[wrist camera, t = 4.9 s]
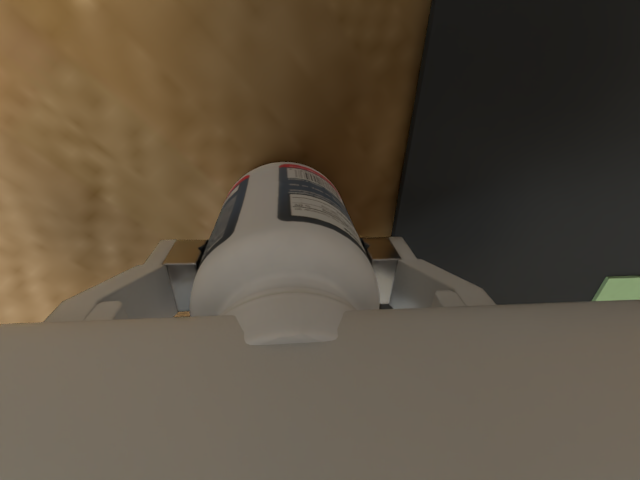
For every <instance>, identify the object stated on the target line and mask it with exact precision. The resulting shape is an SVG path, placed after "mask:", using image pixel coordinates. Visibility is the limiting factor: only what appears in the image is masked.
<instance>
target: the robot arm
mask: <svg viewBox="0 0 640 480" xmlns="http://www.w3.org/2000/svg"><path fill="white" fill-rule="evenodd" d="M360 241H361V243H362V245H363V248H364V250H365V252H366V254H367V256H368V258H369V260H370V263H371V265H372V267H373V270H374V273H375V276H376V279H377V283H378V287H379V293H380V304H389V305H390V306H391V307H392V308H393V309H377V310H351V311H345V312H344V313H343V316H342V319H341V321H340V324H339V326H338V328H337V332H338V337H337V338H336V339H335V340H332V341H326V342H310V343H291V344H274V345H249V344H247V343H246V342H245V340H244V331H243V330H242V328H241V326H240V324H239V322H238V320H237V318H236V317H235V316H234V315H222V316H196V317H174V316H175V315H176V314H177V312H181V311H190V296H191V291H192V286H193V283H194V279H195V276H196V273H197V270H198V267H199V265H200V262H201V259H202V257H203V254H204V251H205V249H206V247H207V244H208V242H209V240H177V239H173V240H161V241H160V242H159V243H158V245H157V246H156V247H155V249H154V250H153V252H152V253H151V254H150V256H149V257H148V259H147V260H146V261H145V263H144V264H143V265H137V266H135V267H133V268H131V269H129V270H127V271H125V272H123V273H121V274H119V275H117V276H114V277H112V278H110V279H108V280H106V281H104V282H102V283H100V284H98V285H96V286H94V287H92V288H90V289H88V290H85V291H83V292H81V293H79V294H77V295H75V296H73V297H71V298H69V299H67V300H65V301H63V302H61V304H60V305H59V306H58V307H57V308H56V309H55V310H54V311H53V312H52V313H51V314H50V315H49V316H48V317H47V318H46V320H45V321H44V322H39V323H13V324H0V480H640V299H639V300H613V301H586V302H560V303H534V304H508V305H496V304H495V302H494V301H493V300H492V299H491V298H490V297H489V296H488V294H487V293H486V292H485V291H484V290H483V289H482V288H480V287H478V286H476V285H474V284H472V283H470V282H468V281H466V280H464V279H461V278H459V277H457V276H455V275H453V274H451V273H449V272H447V271H445V270H443V269H441V268H439V267H437V266H435V265H432V264H430V263H428V262H426V261H424V260H422V259H417V258H416V256H415V255H414V254H413V252H412V251H411V249H410V248H409V246H408V245H407V244H406V242H405V241H404V239H403V238H402V237H374V238H360Z"/></svg>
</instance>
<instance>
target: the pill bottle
mask: <svg viewBox="0 0 640 480" xmlns="http://www.w3.org/2000/svg"><path fill="white" fill-rule="evenodd" d="M379 304H380V293H379V287H378V283H377V279H376V276H375V273H374V270H373V267H372V265H371V263H370V260H369V258H368V256H367V254H366V252H365V250H364V248H363V245H362V243H361V241H360V239H359V236H358V234H357V232H356V230H355V228H354V226H353V223H352V221H351V219H350V217H349V214H348V212H347V210H346V208H345V205H344V203H343V201H342V198H341V196H340V195H339V193H338V191H337V189H336V188H335V186H334V185H333V184H332V183H331V182H330V181H329V180H328V179H327V178H326V177H325V176H324V175H323V174H321V173H320V172H318V171H317V170H315V169H313V168H311V167H308V166H306V165H303V164H299V163H293V162H276V163H270V164H266V165H263V166H260V167H258V168H256V169H254V170H252V171H250V172H248V173H247V174H245V175H244V176H243V177H241V178H240V179H239V180H238V181H237V182H236V183H235V185H234V186H233V187H232V189H231V190H230V192H229V194H228V196H227V198H226V200H225V202H224V205H223V207H222V209H221V212H220V214H219V217H218V219H217V222H216V224H215V227H214V229H213V231H212V234H211V236H210V239H209V242H208V244H207V247H206V249H205V251H204V254H203V257H202V259H201V262H200V265H199V267H198V270H197V273H196V276H195V279H194V283H193V286H192V291H191V296H190V316H191V317H196V316H222V315H234V316H235V317H236V318H237V320H238V322H239V324H240V326H241V328H242V330H243V331H244V340H245V342H246V343H247V344H249V345H274V344H291V343H310V342H326V341H332V340H335V339H336V338H337V337H338V332H337V328H338V326H339V324H340V321H341V319H342V316H343V313H344V312H345V311H351V310H377V309H379Z"/></svg>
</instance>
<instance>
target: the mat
mask: <svg viewBox="0 0 640 480" xmlns="http://www.w3.org/2000/svg"><path fill="white" fill-rule="evenodd" d="M391 237H402V238H403V239H404V241H405V242H406V244H407V245H408V246H409V248H410V249H411V251H412V252H413V254H414V255H415V256H416V258H417V259H422V260H424V261H426V262H428V263H430V264H432V265H435V266H437V267H439V268H441V269H443V270H445V271H447V272H449V273H451V274H453V275H455V276H457V277H459V278H461V279H464V280H466V281H468V282H470V283H472V284H474V285H476V286H478V287H480V288H482V289H483V290H484V291H485V292H486V293H487V294H488V296H489V297H490V298H491V299H492V300H493V301H494V302H495V304H496V305H508V304H534V303H560V302H586V301H613V300H639V299H640V0H432V4H431V10H430V15H429V21H428V27H427V33H426V38H425V44H424V50H423V56H422V61H421V67H420V73H419V79H418V84H417V90H416V96H415V102H414V107H413V113H412V119H411V125H410V130H409V136H408V142H407V148H406V153H405V159H404V165H403V171H402V176H401V182H400V188H399V194H398V199H397V205H396V211H395V217H394V222H393V228H392V234H391ZM379 309H393V308H392V307H391V306H390V305H389V304H379Z"/></svg>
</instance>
